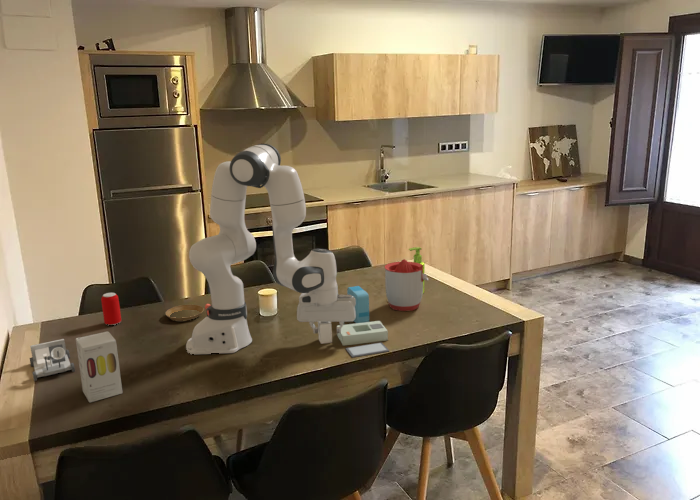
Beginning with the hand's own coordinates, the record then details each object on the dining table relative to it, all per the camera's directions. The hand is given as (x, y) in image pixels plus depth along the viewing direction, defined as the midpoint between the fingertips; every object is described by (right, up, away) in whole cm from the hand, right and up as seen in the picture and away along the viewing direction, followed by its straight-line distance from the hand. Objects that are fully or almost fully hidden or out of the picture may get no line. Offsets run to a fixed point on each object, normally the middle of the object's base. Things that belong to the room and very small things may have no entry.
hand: (327, 332), depth 198 cm
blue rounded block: (+11, +2, +20) cm, 23 cm away
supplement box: (-65, -13, -30) cm, 73 cm away
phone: (+14, -5, -7) cm, 16 cm away
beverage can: (-84, 0, +23) cm, 87 cm away
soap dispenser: (+37, +10, +50) cm, 63 cm away
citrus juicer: (+31, +5, +33) cm, 45 cm away
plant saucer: (-58, +2, +29) cm, 65 cm away
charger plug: (-1, -3, +2) cm, 4 cm away
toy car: (-88, -10, -14) cm, 89 cm away
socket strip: (+12, -2, +4) cm, 13 cm away
